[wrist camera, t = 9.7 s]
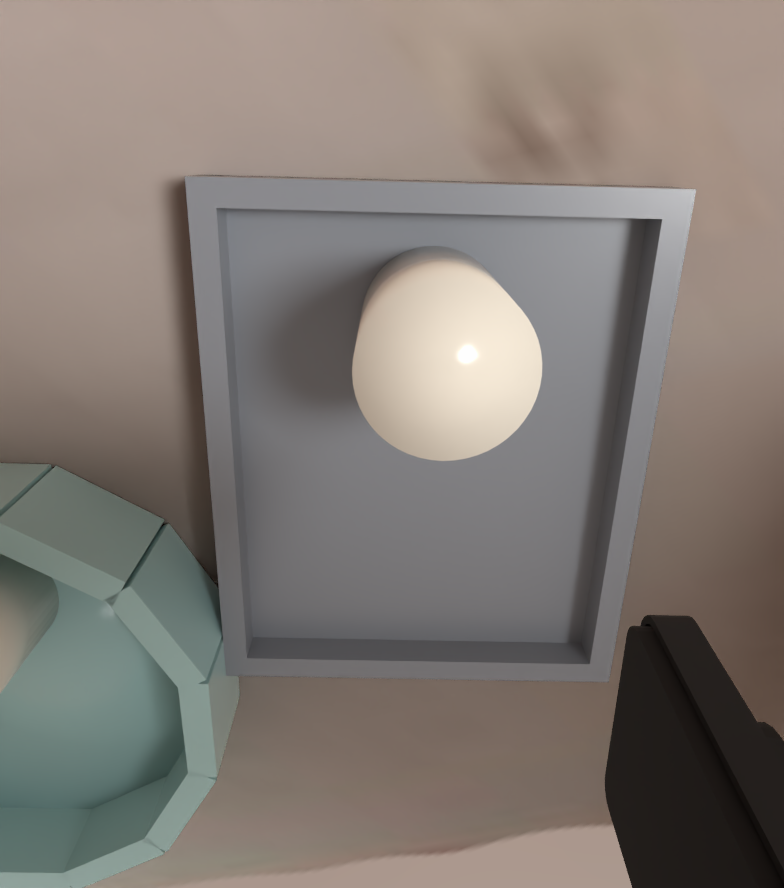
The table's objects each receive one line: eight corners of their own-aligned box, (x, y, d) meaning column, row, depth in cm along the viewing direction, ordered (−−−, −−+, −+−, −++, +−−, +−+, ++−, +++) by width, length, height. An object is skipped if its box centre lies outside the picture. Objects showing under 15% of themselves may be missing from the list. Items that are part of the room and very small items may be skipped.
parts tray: (671, 187, 21) (696, 189, 19) (595, 650, 27) (608, 682, 26) (201, 174, 21) (184, 176, 19) (235, 643, 27) (225, 675, 25)
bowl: (222, 467, 24) (193, 523, 21) (247, 803, 30) (228, 893, 27) (-242, 458, 24) (-358, 512, 20) (-124, 798, 30) (-196, 887, 26)
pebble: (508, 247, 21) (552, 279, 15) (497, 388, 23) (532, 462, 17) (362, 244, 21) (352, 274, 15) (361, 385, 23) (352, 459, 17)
